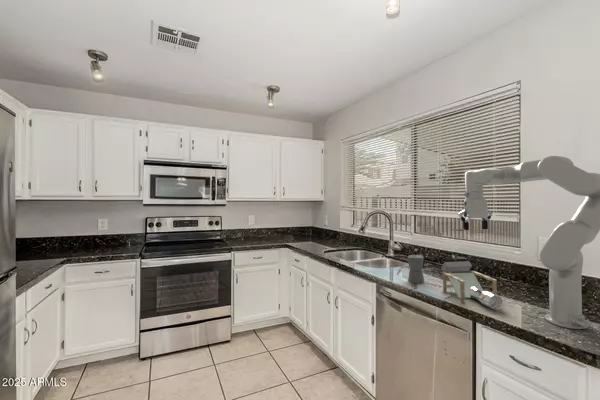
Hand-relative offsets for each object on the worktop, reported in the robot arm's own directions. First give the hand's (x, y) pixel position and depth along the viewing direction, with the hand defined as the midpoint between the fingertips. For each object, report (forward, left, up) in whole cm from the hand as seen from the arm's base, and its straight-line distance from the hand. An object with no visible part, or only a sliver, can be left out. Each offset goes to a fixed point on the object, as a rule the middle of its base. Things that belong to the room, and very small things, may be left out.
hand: (475, 229), depth 144 cm
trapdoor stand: (+3, +2, -34) cm, 35 cm away
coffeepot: (+32, +16, -35) cm, 50 cm away
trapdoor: (+9, +2, -29) cm, 31 cm away
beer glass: (0, +2, -31) cm, 31 cm away
